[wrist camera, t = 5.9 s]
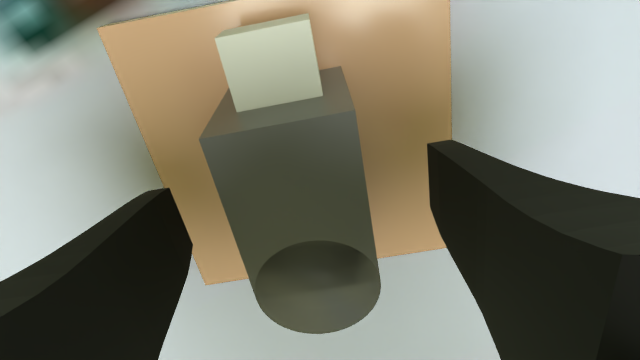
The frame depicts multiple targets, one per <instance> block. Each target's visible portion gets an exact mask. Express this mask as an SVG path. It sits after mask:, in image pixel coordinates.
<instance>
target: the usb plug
mask: <svg viewBox="0 0 640 360" xmlns="http://www.w3.org/2000/svg"><path fill="white" fill-rule="evenodd" d="M214 39H215V42H216V45H217V49H218V52H219V55H220V59H221V62H222V65H223V69H224V72H225V75H226V79H227V82H228V85H229V88H228V90H227V92H226V93H225V95H224V97H223V99H222V100H221V102H220V104H219V105H218V107H217V109H216V110H215V112H214V114H213V116H212V117H211V119H210V121H209V122H208V124H207V126H206V127H205V129H204V131H203V133H202V134H201V136H200V138H199V142H200V145H201V147H202V150H203V153H204V156H205V158H206V161H207V164H208V167H209V169H210V172H211V175H212V178H213V180H214V183H215V186H216V189H217V192H218V194H219V197H220V200H221V203H222V205H223V208H224V211H225V214H226V216H227V219H228V222H229V225H230V227H231V230H232V233H233V236H234V238H235V241H236V244H237V247H238V250H239V252H240V255H241V258H242V261H243V263H244V266H245V269H246V272H247V274H248V277H249V280H250V283H251V285H252V288H253V291H254V294H255V296H256V299H257V302H258V304H259V306H260V308H261V309H262V311H263V312H264V313H265V314H266V315H267V316H268V317H269V318H270V319H271V320H273V321H274V322H276V323H277V324H279V325H281V326H283V327H285V328H287V329H290V330H293V331H297V332H302V333H311V334H322V333H330V332H335V331H339V330H342V329H345V328H347V327H350V326H352V325H354V324H356V323H357V322H359V321H360V320H362V319H363V318H364V317H365V316H366V315H368V314H369V312H370V311H371V310H372V309H373V307H374V306H375V304H376V302H377V300H378V298H379V295H380V289H381V282H380V275H379V268H378V261H377V254H376V247H375V241H374V234H373V227H372V220H371V213H370V207H369V200H368V193H367V186H366V179H365V173H364V166H363V159H362V152H361V146H360V139H359V132H358V125H357V118H356V112H355V108H354V105H353V102H352V99H351V95H350V92H349V89H348V86H347V83H346V80H345V77H344V74H343V71H342V68H341V66H338V67H333V68H328V69H323V70H319V67H318V62H317V56H316V51H315V45H314V40H313V35H312V29H311V24H310V18H309V13H306V14H301V15H296V16H291V17H286V18H281V19H276V20H271V21H267V22H262V23H257V24H252V25H247V26H242V27H237V28H232V29H227V30H223V31H222V32H221V33H220V34H219V35H218V36H217V37H216V38H214Z"/></svg>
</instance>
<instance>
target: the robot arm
mask: <svg viewBox="0 0 640 360" xmlns="http://www.w3.org/2000/svg"><path fill="white" fill-rule="evenodd" d="M427 156H428V177H429V199H430V208H431V211H432V214H433V217H434V220H435V222H436V225H437V228H438V230H439V233H440V235H441V237H442V239H443V241H444V243H445V245H446V247H447V249H448V251H449V252H450V254H451V256H452V258H453V260H454V262H455V263H456V265H457V267H458V269H459V271H460V272H461V274H462V276H463V278H464V280H465V282H466V283H467V285H468V287H469V289H470V291H471V293H472V294H473V296H474V298H475V300H476V302H477V304H478V306H479V308H480V310H481V312H482V314H483V316H484V319H485V321H486V324H487V326H488V329H489V331H490V333H491V336H492V338H493V341H494V343H495V345H496V348H497V350H498V353H499V355H500V358H501V360H640V198H635V197H630V196H624V195H619V194H614V193H608V192H603V191H599V190H594V189H590V188H585V187H581V186H578V185H574V184H570V183H566V182H563V181H559V180H555V179H552V178H549V177H545V176H542V175H539V174H536V173H534V172H531V171H528V170H525V169H522V168H519V167H517V166H514V165H511V164H509V163H506V162H504V161H501V160H499V159H497V158H494V157H492V156H489V155H487V154H485V153H482V152H480V151H478V150H475V149H473V148H471V147H469V146H466V145H464V144H461V143H459V142H456V141H453V140H445V141H439V142H433V143H427ZM192 249H193V243H192V241H191V239H190V236H189V234H188V231H187V229H186V226H185V224H184V222H183V219H182V217H181V214H180V212H179V210H178V207H177V205H176V202H175V200H174V198H173V195H172V193H171V190H170V188H163V189H157V190H151V191H147V192H145V193H143V194H141V195H139V196H138V197H136V198H134V199H133V200H131V201H129V202H128V203H126V204H125V205H123V206H122V207H120V208H119V209H117V210H116V211H114V212H113V213H111V214H110V215H109V216H107V217H106V218H104V219H103V220H101V221H100V222H98V223H97V224H95V225H94V226H92V227H91V228H90V229H88V230H87V231H85V232H84V233H82V234H80V235H79V236H77V237H76V238H74V239H73V240H71V241H70V242H68V243H66V244H65V245H63V246H62V247H60V248H59V249H57V250H56V251H54V252H52V253H51V254H49V255H48V256H46V257H44V258H43V259H41V260H39V261H37V262H36V263H34V264H32V265H31V266H29V267H27V268H25V269H23V270H21V271H20V272H18V273H16V274H14V275H12V276H10V277H9V278H7V279H5V280H3V281H1V282H0V360H158V358H159V355H160V351H161V348H162V345H163V342H164V340H165V337H166V334H167V331H168V329H169V326H170V323H171V320H172V318H173V315H174V312H175V309H176V307H177V304H178V301H179V298H180V295H181V293H182V290H183V287H184V284H185V281H186V278H187V275H188V270H189V266H190V261H191V255H192Z"/></svg>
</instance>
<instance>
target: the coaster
mask: <svg viewBox="0 0 640 360" xmlns="http://www.w3.org/2000/svg"><path fill="white" fill-rule="evenodd" d="M306 13H309V18H310V24H311V29H312V35H313V40H314V45H315V51H316V56H317V62H318V67H319V70H323V69H328V68H333V67H338V66H341V68H342V71H343V74H344V77H345V80H346V83H347V86H348V89H349V92H350V95H351V99H352V102H353V105H354V108H355V112H356V118H357V125H358V132H359V139H360V146H361V152H362V159H363V166H364V173H365V179H366V186H367V193H368V200H369V207H370V213H371V220H372V227H373V234H374V241H375V247H376V254H377V258H384V257H390V256H397V255H403V254H410V253H416V252H422V251H429V250H435V249H442V248H447V247H446V245H445V243H444V241H443V239H442V237H441V235H440V233H439V230H438V228H437V225H436V222H435V220H434V217H433V214H432V211H431V208H430V199H429V177H428V156H427V143H433V142H439V141H445V140H452V123H451V48H450V0H229V1H224V2H219V3H214V4H209V5H204V6H198V7H193V8H188V9H183V10H178V11H173V12H168V13H163V14H158V15H152V16H147V17H142V18H137V19H132V20H127V21H122V22H117V23H112V24H107V25H104V26H102V27H99V28H97V30H98V32H99V35H100V37H101V39H102V42H103V44H104V47H105V49H106V51H107V54H108V56H109V58H110V61H111V63H112V65H113V68H114V70H115V72H116V75H117V77H118V80H119V82H120V84H121V87H122V89H123V91H124V94H125V96H126V98H127V101H128V103H129V106H130V108H131V110H132V113H133V115H134V117H135V120H136V122H137V124H138V127H139V129H140V131H141V134H142V136H143V139H144V141H145V143H146V146H147V148H148V150H149V153H150V155H151V157H152V160H153V162H154V165H155V167H156V169H157V172H158V174H159V176H160V179H161V181H162V183H163V186H164V188H170V190H171V193H172V195H173V198H174V200H175V202H176V205H177V207H178V210H179V212H180V214H181V217H182V219H183V222H184V224H185V226H186V229H187V231H188V234H189V236H190V239H191V241H192V243H193V249H192V254H193V257H194V259H195V261H196V264H197V266H198V268H199V271H200V273H201V275H202V278H203V280H204V283H205V285H210V284H217V283H223V282H230V281H236V280H242V279H249V277H248V274H247V272H246V269H245V266H244V263H243V261H242V258H241V255H240V252H239V250H238V247H237V244H236V241H235V238H234V236H233V233H232V230H231V227H230V225H229V222H228V219H227V216H226V214H225V211H224V208H223V205H222V203H221V200H220V197H219V194H218V192H217V189H216V186H215V183H214V180H213V178H212V175H211V172H210V169H209V167H208V164H207V161H206V158H205V156H204V153H203V150H202V147H201V145H200V142H199V138H200V136H201V134H202V133H203V131H204V129H205V127H206V126H207V124H208V122H209V121H210V119H211V117H212V116H213V114H214V112H215V110H216V109H217V107H218V105H219V104H220V102H221V100H222V99H223V97H224V95H225V93H226V92H227V90H228V88H229V85H228V82H227V79H226V75H225V72H224V69H223V65H222V62H221V59H220V55H219V52H218V49H217V45H216V42H215V39H214V38H216V37H217V36H218V35H219V34H220V33H221V32H222V31H223V30H227V29H232V28H237V27H242V26H247V25H252V24H257V23H262V22H267V21H271V20H276V19H281V18H286V17H291V16H296V15H301V14H306Z"/></svg>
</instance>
